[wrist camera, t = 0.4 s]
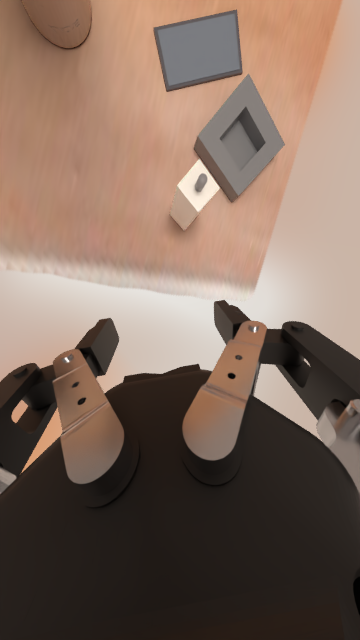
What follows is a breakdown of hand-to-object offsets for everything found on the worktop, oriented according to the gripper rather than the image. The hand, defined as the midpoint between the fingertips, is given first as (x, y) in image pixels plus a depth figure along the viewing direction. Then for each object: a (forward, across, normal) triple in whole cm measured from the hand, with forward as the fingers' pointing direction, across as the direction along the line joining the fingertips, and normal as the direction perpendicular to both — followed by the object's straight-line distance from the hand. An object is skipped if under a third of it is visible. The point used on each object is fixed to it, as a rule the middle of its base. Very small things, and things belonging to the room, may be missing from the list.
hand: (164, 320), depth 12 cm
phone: (+34, -12, -31) cm, 48 cm away
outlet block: (+32, -18, -18) cm, 41 cm away
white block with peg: (+29, -6, -9) cm, 31 cm away
